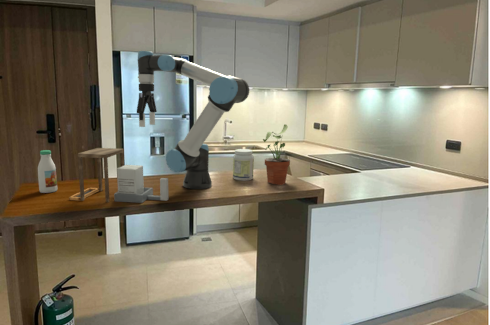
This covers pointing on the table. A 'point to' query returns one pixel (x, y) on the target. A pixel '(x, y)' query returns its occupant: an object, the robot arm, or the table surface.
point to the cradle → (145, 194)
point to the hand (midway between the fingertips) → (147, 125)
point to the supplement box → (130, 179)
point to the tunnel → (98, 154)
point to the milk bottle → (47, 173)
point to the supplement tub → (243, 164)
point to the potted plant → (277, 162)
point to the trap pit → (86, 193)
